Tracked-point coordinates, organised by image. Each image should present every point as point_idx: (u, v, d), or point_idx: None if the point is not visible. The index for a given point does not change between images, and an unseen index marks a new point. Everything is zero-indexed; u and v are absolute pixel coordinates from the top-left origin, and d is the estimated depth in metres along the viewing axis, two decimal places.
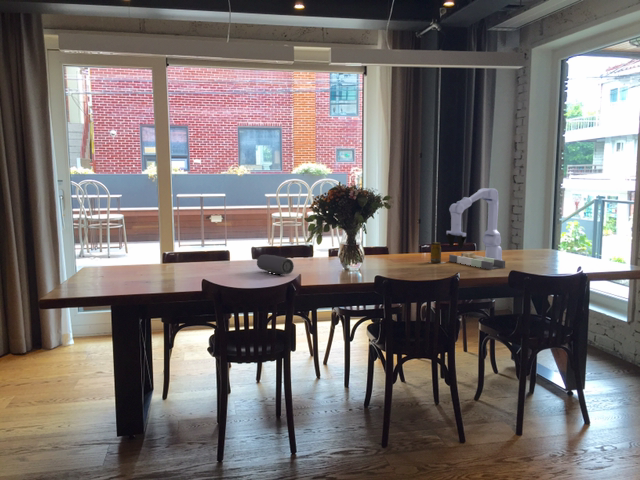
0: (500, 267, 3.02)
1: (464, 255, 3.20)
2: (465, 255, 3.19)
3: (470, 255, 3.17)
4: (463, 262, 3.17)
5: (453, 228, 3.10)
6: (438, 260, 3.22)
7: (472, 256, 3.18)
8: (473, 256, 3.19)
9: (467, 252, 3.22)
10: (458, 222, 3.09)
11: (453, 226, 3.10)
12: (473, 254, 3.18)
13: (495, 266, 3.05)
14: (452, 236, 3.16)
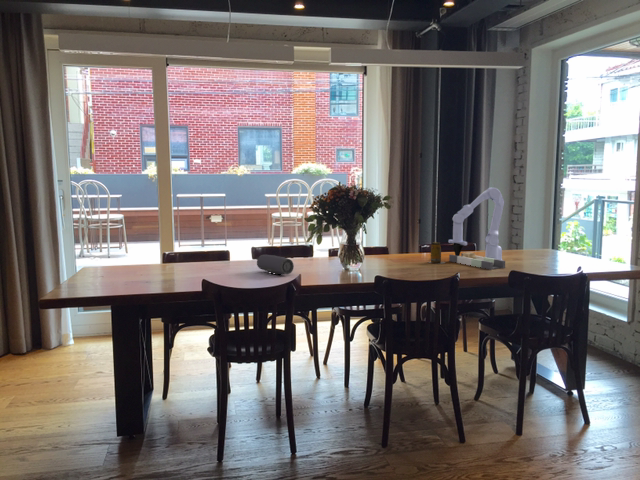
0: (500, 267, 3.02)
1: (464, 255, 3.20)
2: (465, 255, 3.19)
3: (470, 255, 3.17)
4: (463, 262, 3.17)
5: (455, 237, 3.26)
6: (438, 260, 3.22)
7: (472, 256, 3.18)
8: (473, 256, 3.19)
9: (467, 252, 3.22)
10: (457, 231, 3.25)
11: (455, 235, 3.26)
12: (473, 254, 3.18)
13: (495, 266, 3.05)
14: None
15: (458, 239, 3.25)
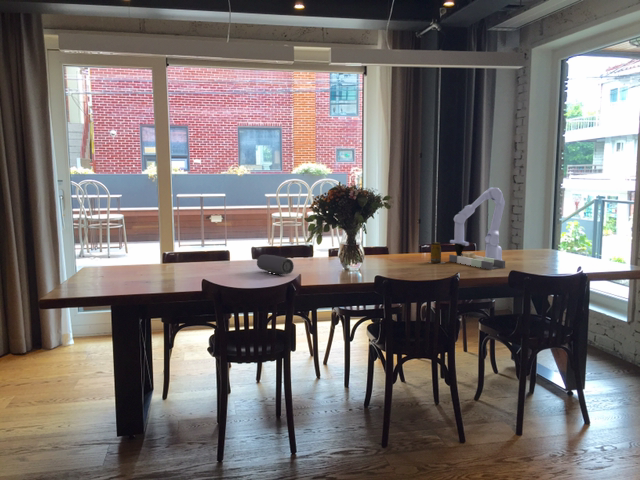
0: (500, 267, 3.02)
1: (464, 255, 3.20)
2: (465, 255, 3.19)
3: (470, 255, 3.17)
4: (463, 262, 3.17)
5: (456, 238, 3.25)
6: (438, 260, 3.22)
7: (472, 256, 3.18)
8: (473, 256, 3.19)
9: (467, 252, 3.22)
10: (459, 232, 3.24)
11: (456, 236, 3.25)
12: (473, 254, 3.18)
13: (495, 266, 3.05)
14: None
15: (460, 239, 3.24)
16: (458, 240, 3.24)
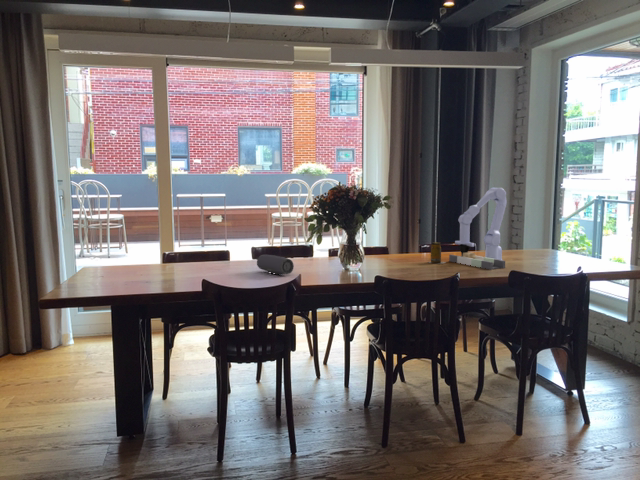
0: (500, 267, 3.02)
1: (464, 255, 3.20)
2: (465, 255, 3.19)
3: (470, 255, 3.17)
4: (463, 262, 3.17)
5: (462, 238, 3.21)
6: (438, 260, 3.22)
7: (472, 256, 3.18)
8: (473, 256, 3.19)
9: (467, 252, 3.22)
10: (465, 233, 3.19)
11: (462, 236, 3.21)
12: (473, 254, 3.18)
13: (495, 266, 3.05)
14: None
15: (465, 240, 3.20)
16: (463, 241, 3.20)
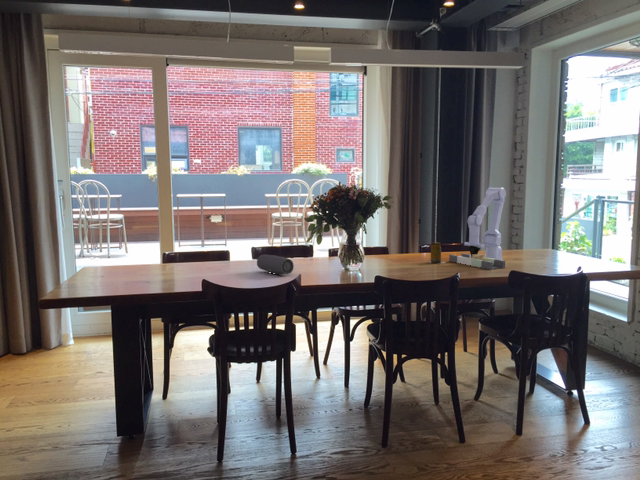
0: (500, 267, 3.02)
1: (473, 257, 3.13)
2: (474, 257, 3.12)
3: (480, 257, 3.10)
4: (463, 262, 3.17)
5: (471, 240, 3.14)
6: (438, 260, 3.22)
7: (482, 258, 3.11)
8: (483, 258, 3.11)
9: (477, 254, 3.15)
10: (477, 234, 3.12)
11: (471, 238, 3.13)
12: (483, 256, 3.11)
13: (495, 266, 3.05)
14: None
15: (475, 242, 3.13)
16: (473, 242, 3.13)
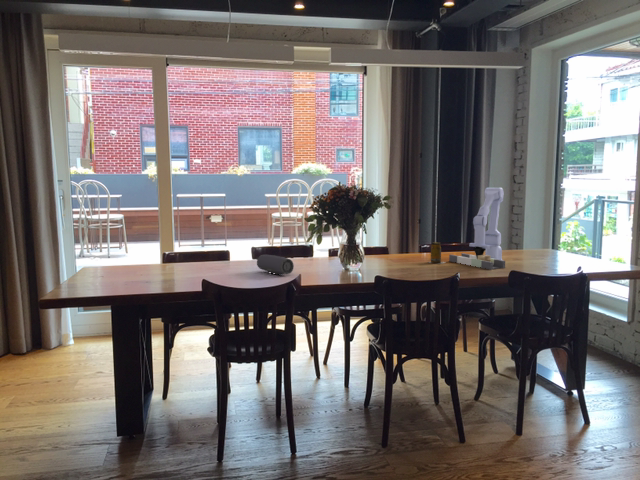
0: (500, 267, 3.02)
1: (479, 258, 3.09)
2: (480, 258, 3.08)
3: (485, 258, 3.06)
4: (463, 262, 3.17)
5: (477, 240, 3.10)
6: (438, 260, 3.22)
7: (487, 259, 3.07)
8: (488, 259, 3.08)
9: (482, 255, 3.11)
10: (483, 234, 3.09)
11: (477, 238, 3.10)
12: (488, 257, 3.07)
13: (495, 266, 3.05)
14: None
15: (480, 242, 3.09)
16: (478, 243, 3.09)
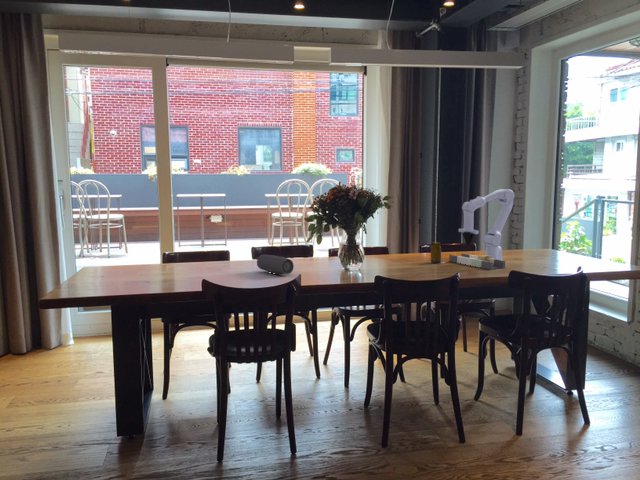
0: (500, 267, 3.02)
1: (479, 258, 3.09)
2: (480, 258, 3.08)
3: (485, 258, 3.06)
4: (463, 262, 3.17)
5: (466, 226, 3.19)
6: (438, 260, 3.22)
7: (487, 259, 3.07)
8: (488, 259, 3.08)
9: (482, 255, 3.11)
10: (469, 220, 3.17)
11: (466, 224, 3.19)
12: (488, 257, 3.07)
13: (495, 266, 3.05)
14: None
15: (469, 228, 3.18)
16: (467, 228, 3.18)
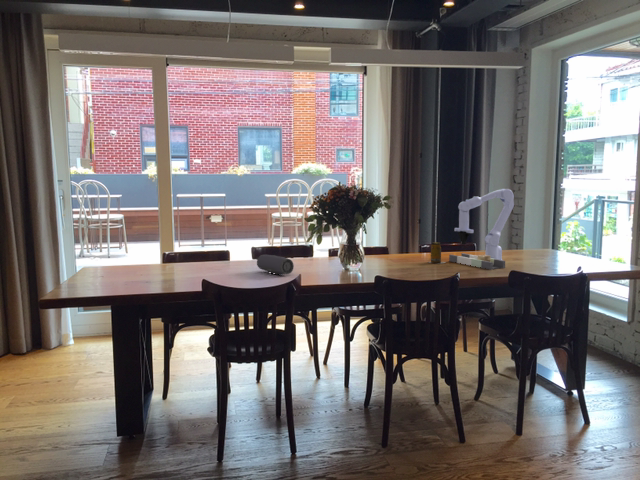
0: (500, 267, 3.02)
1: (479, 258, 3.09)
2: (480, 258, 3.08)
3: (485, 258, 3.06)
4: (463, 262, 3.17)
5: (461, 225, 3.23)
6: (438, 260, 3.22)
7: (487, 259, 3.07)
8: (488, 259, 3.08)
9: (482, 255, 3.11)
10: (463, 219, 3.22)
11: (461, 223, 3.23)
12: (488, 257, 3.07)
13: (495, 266, 3.05)
14: None
15: (464, 227, 3.23)
16: (463, 228, 3.23)
